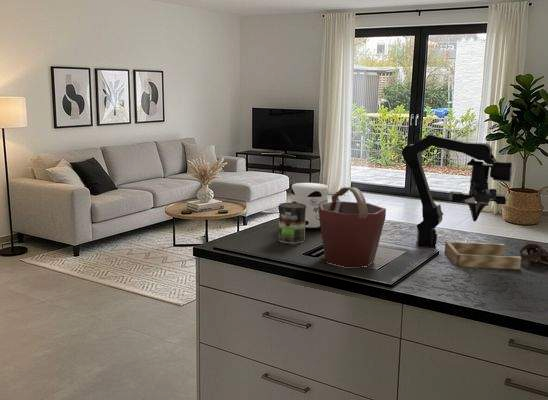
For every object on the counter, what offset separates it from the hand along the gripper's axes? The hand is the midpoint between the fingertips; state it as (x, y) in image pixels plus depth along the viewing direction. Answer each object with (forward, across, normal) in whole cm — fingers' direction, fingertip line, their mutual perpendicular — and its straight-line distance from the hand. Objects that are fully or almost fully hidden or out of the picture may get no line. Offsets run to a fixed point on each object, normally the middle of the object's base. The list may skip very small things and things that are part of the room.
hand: (474, 221), depth 199 cm
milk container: (+13, -61, +28) cm, 68 cm away
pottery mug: (+12, +18, -11) cm, 24 cm away
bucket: (+13, -45, -19) cm, 50 cm away
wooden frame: (+12, +1, -10) cm, 16 cm away
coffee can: (+13, -66, +4) cm, 68 cm away
